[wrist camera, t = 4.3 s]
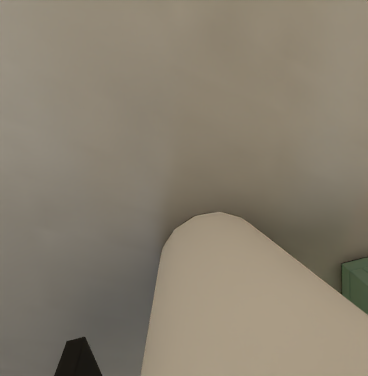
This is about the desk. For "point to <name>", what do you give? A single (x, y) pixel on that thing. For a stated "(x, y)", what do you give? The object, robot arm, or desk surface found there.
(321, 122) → the desk surface
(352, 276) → the basin
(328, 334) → the foam cup
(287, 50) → the desk surface
